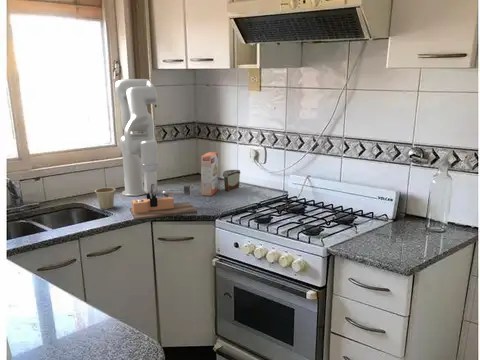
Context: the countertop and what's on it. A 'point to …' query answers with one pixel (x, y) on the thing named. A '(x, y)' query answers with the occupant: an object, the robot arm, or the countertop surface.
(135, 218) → the board
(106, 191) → the flower pot
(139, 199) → the hardware
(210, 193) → the cracker box
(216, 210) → the countertop surface
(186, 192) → the keeper
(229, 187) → the food container
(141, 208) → the link
